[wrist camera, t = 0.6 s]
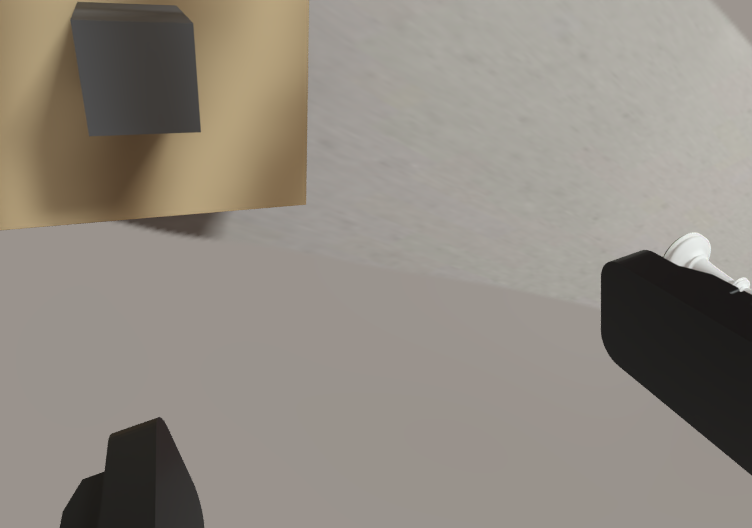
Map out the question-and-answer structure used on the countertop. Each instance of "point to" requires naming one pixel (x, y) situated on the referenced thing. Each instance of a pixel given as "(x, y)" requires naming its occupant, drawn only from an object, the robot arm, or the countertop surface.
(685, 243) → the chess piece
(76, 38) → the lid
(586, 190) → the countertop surface
